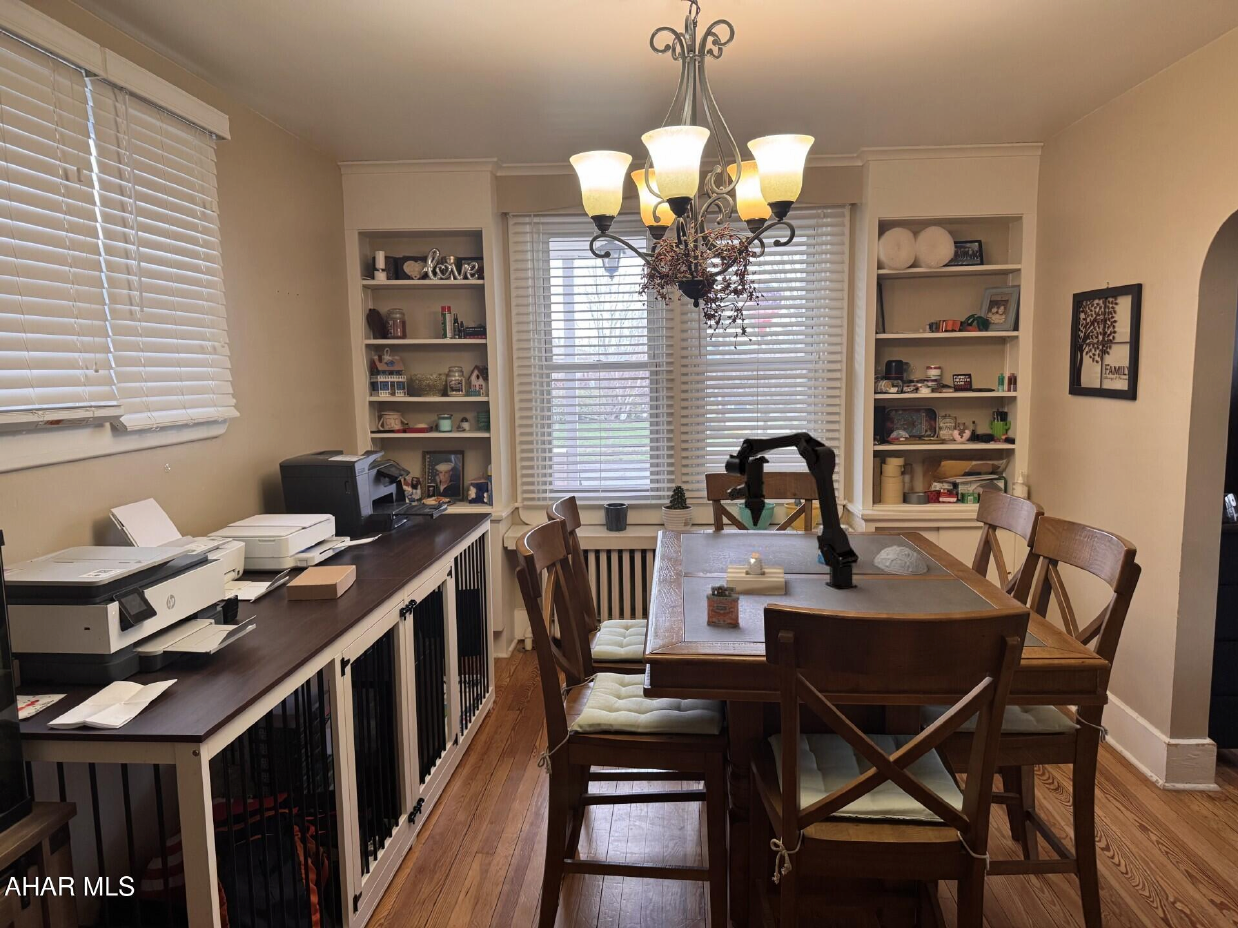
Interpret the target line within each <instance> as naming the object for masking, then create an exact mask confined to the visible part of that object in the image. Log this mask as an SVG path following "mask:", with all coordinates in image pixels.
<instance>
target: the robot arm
mask: <svg viewBox="0 0 1238 928" xmlns="http://www.w3.org/2000/svg"><path fill="white" fill-rule="evenodd" d="M792 447H795V448H796V449H797V452H798V455H799V456H800V457H801V458H802V459H803V460H804V461H805V463H806V467H807V470H808V471H809V473H810V474H811V476H812V477H813V478H814V482H815V486H816V487H815V488H816V493H817V494H816V495H817V499H818V505H819V511H820V517H821V518H820V519H821V524H822V525H821V526H823V531H822V534H821V535H818V534H817V535H816V541H817V544H818V545H817V546H818V548H817V551H818V550H820V552H821V554H822V556H823V559H824V562H825V564H824V565H825V566H827V567H829V581H827V582H825V585H827V586H828V587H832V588H835V589H836V590H843V589H850V588H856V587H858V584H856V583H853V582H854V581H853V577H854V576H853V564H857V563H858V561H859V557H860V556H859V555H858V553H856V551H855V550H854V549H853V548H852V546H851V543H850V539H849V540H848V536H847V534H846V533H845V531H844V530H843V529H842V527H841V525H842V524H841V521H840V515H839V508H838V503H837V496H836V491H835V484H834V479H833V478H834V477H833V476H834V472H835V469H836V461H837V460H836V459H837V458H836V452H835V451H834V449H832V448H831V447H829V446H827V445H826V444H825V443H823V442H822V441H821V440H818V439H816V438H815V437H813V436H812V435H811V434H810V433H809V432H806V431H800V432H799V431H798V432H795V433H792V434H785V435H780V436H773V437H769V436H754V437H745V438H744V439H743V441H742V443H741V445H740V448H739V449H738V451H737V453H729V454H728V455H729V457H728V458H727V459H726V462H725V464H724V470H725V473H727V475H730V476H740V477H744V476H745V477H744V478H745V480H744V482H743V484H741V485H738V486H734V487H731V488H730V489H728V490H727V495H728V497H729V500H730V502H733V501H736V500H738V499H740V498H743V497H744V508H745V509H747V510H749V513H750V517H751V521H752V527H758V525H759V522H760V519H761V517H762V515H763V512H764V509H765V508H766V499H765V497H766V493H765V468H764V467H765V464H769V463H770V460H769V459H768V458H767V457H766V456H765V454H768V453H770V452H771V451H774V450H780V449H785V448H786V449H787V448H792ZM840 524H841V525H840ZM840 557H841V558H842V559H840Z"/></svg>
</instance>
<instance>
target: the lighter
mask: <svg viewBox="0 0 1238 928" xmlns="http://www.w3.org/2000/svg"><path fill="white" fill-rule="evenodd" d="M710 591H711V593H707V594H706V595H705V596H706V597H705V598H706V607H707V608H706V610H707V611H706V612H707V613H706V616H707V620H706V626H708V627H711V628H712V627H713V628H719V629H721V628H722V629H739V628H740V624H741V623H740V622H739V621H740V615H739V614H740V610H739V604H740V603H739V601H740V596H739V595H738V594H731V592H736V587H734V586H726V585H725V584H719V585H711V586H710ZM726 592H728V594H727V593H726Z"/></svg>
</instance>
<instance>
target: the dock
mask: <svg viewBox="0 0 1238 928" xmlns="http://www.w3.org/2000/svg"><path fill="white" fill-rule="evenodd" d="M726 571H727V572H726V578H725V584H726V585H725V587H726V586H734V587H736V592H731V595H738V594H739V595H740V594H741V595H779V594H786V591H785V590H786V587H785V586H786V581H785V572H784V567H783V566H770V565H769V566H764V565H763V575H749V573H748V565H728V567H727V570H726ZM726 593H727V594H728V592H726Z"/></svg>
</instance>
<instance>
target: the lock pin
mask: <svg viewBox="0 0 1238 928" xmlns="http://www.w3.org/2000/svg"><path fill="white" fill-rule="evenodd" d="M759 554H760V553H759V552H757V553H753V552H752V553H751V558H760V555H759Z"/></svg>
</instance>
